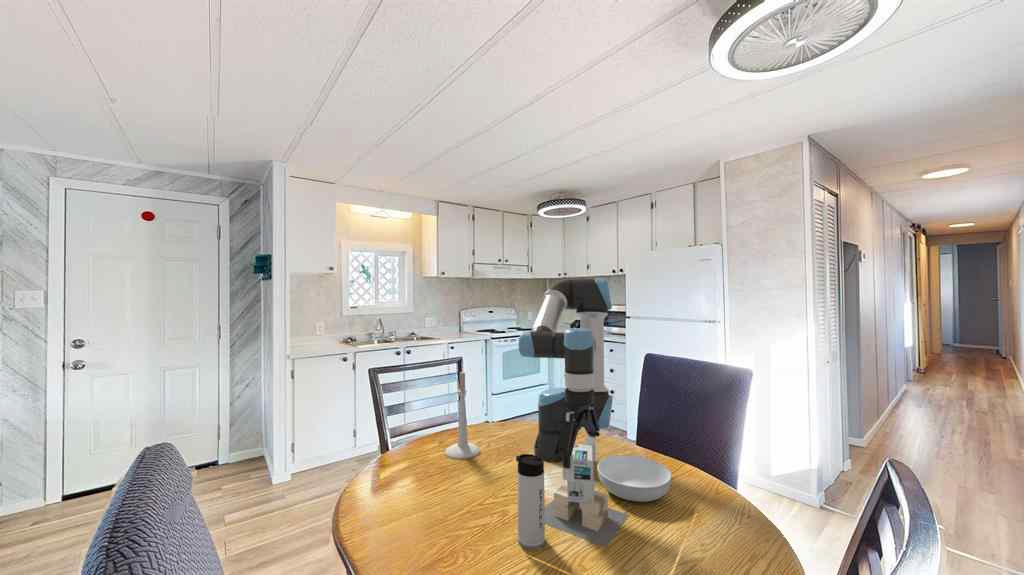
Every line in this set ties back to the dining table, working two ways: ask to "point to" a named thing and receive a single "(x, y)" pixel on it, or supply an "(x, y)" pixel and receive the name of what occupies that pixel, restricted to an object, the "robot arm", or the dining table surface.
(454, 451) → the candlestick
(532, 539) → the travel mug
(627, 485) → the serving bowl
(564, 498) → the beige wooden block
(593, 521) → the block
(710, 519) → the dining table surface
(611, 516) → the mat
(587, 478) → the light bulb box
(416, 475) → the dining table surface
